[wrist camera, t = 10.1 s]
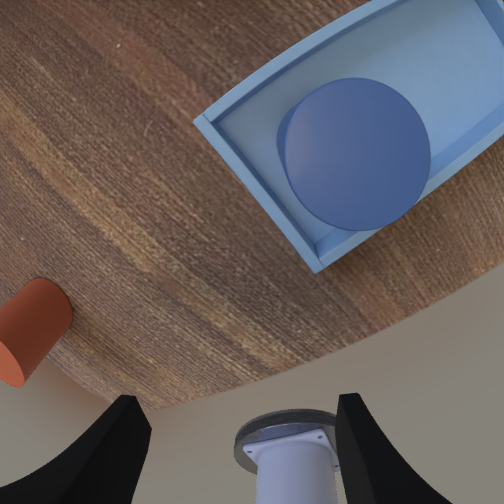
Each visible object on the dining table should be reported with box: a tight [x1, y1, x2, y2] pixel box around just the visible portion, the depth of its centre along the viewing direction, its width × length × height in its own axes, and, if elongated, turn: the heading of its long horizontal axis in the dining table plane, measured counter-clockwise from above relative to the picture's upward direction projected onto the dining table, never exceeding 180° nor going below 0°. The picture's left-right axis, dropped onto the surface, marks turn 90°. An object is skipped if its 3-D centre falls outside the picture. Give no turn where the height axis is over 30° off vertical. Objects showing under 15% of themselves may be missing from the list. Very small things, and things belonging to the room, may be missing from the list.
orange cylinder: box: [0, 278, 73, 387], centre depth 17 cm, size 5×5×7 cm
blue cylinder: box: [276, 78, 431, 231], centre depth 12 cm, size 5×5×7 cm
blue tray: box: [193, 0, 504, 274], centre depth 13 cm, size 19×9×2 cm, turn 128°
